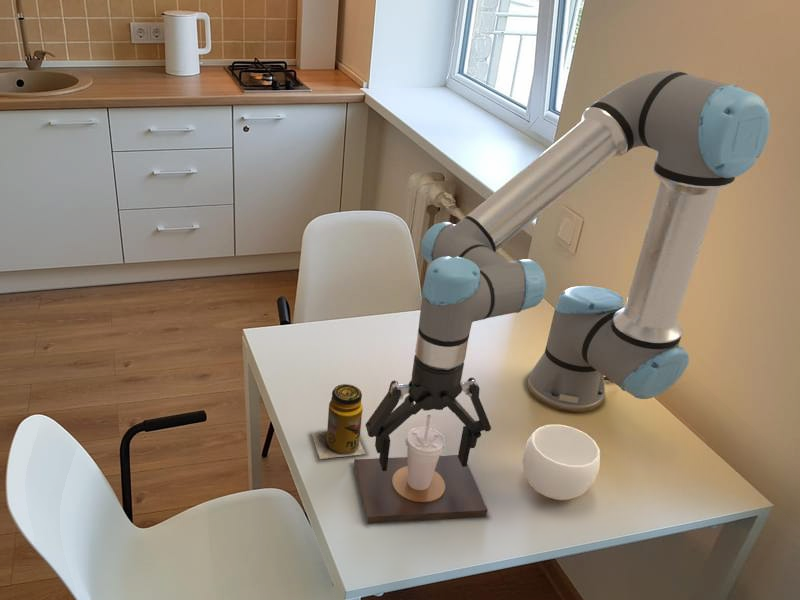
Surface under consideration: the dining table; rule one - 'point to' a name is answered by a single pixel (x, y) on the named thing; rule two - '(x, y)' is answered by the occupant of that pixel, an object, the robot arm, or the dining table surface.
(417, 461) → the smoothie
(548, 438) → the cup
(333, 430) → the condiment
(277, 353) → the dining table surface
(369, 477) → the board
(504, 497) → the dining table surface
